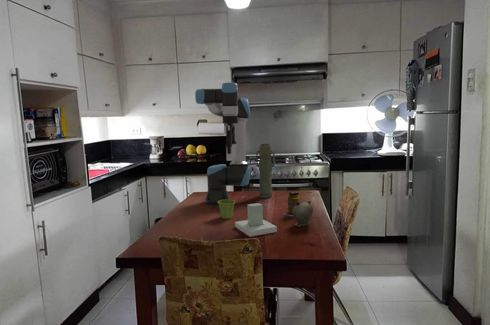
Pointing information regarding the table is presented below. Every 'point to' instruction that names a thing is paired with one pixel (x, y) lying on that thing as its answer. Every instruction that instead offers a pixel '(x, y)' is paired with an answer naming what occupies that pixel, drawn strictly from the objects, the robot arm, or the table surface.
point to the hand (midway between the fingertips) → (231, 158)
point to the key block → (255, 214)
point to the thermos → (265, 170)
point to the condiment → (292, 202)
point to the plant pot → (226, 208)
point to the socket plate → (255, 228)
